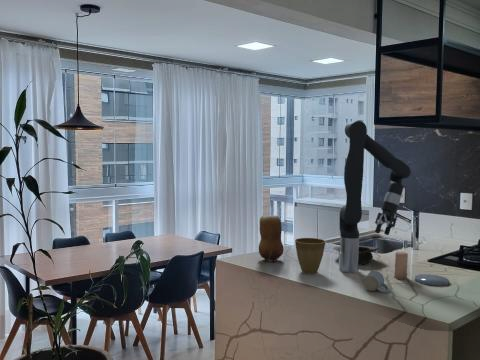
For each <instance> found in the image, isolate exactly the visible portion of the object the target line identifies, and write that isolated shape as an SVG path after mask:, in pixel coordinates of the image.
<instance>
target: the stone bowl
mask: <svg viewBox="0 0 480 360" xmlns="http://www.w3.org/2000/svg"><path fill="white" fill-rule="evenodd" d="M332 249H333V250H335V251H336V252H339V250H340V246H335V247H332ZM379 249H380V247H373V246H365V245H359V253H358V266H359V265H364V264H369V263H370V262H371V261H372V260H373V258H374V256H373V252H376V251H378V250H379Z"/></svg>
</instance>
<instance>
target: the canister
mask: <svg viewBox="0 0 480 360" xmlns="http://www.w3.org/2000/svg"><path fill="white" fill-rule="evenodd" d="M408 255H409V254H408V253H407V252H404V251H397V252H395V259H394V261H395V262H394V278H395V279H397V280H400V281H401V280H402V281H403V280H404V279H405V280H407V278H408V260H409V259H408V258H409V256H408Z"/></svg>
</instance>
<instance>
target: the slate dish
mask: <svg viewBox="0 0 480 360" xmlns="http://www.w3.org/2000/svg"><path fill="white" fill-rule="evenodd" d="M414 281H415V282H417V283H418V282H419V284H421V285H426V286H429V287H430V286H431V287H444V286H445V287H446V286H448V285H449V284H450V280H449V278H447V277H444V276H441V275H437V274H430V273H429V274H428V273H423V274H422V273H421V274H417V275H414Z"/></svg>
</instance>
